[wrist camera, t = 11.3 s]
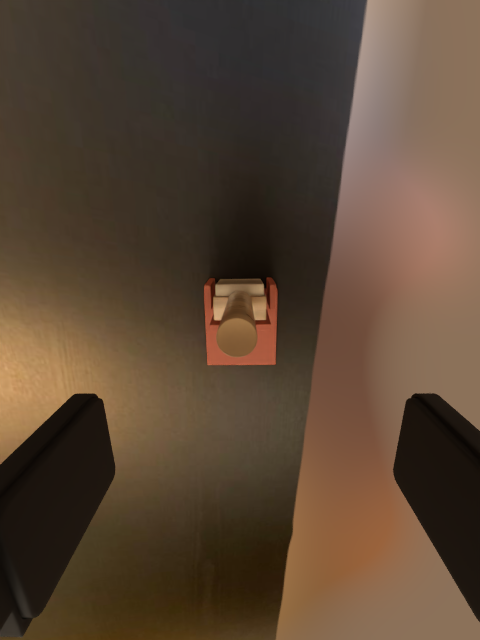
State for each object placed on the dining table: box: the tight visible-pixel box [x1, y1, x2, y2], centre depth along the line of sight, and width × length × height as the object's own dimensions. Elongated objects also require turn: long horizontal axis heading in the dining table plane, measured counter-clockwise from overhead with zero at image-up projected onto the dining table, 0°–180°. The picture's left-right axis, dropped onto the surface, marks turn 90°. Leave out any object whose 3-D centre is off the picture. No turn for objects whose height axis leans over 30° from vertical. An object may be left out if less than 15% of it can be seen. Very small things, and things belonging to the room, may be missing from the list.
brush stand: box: [204, 277, 278, 365], centre depth 29 cm, size 10×8×7 cm
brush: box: [213, 279, 266, 357], centre depth 21 cm, size 15×4×3 cm
